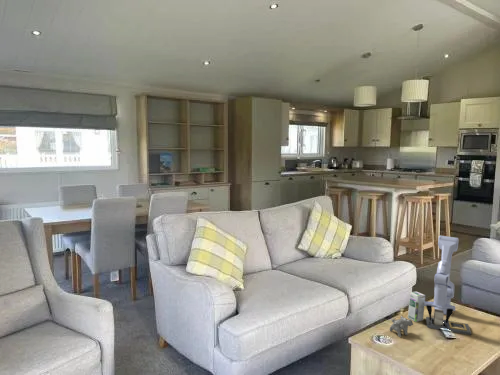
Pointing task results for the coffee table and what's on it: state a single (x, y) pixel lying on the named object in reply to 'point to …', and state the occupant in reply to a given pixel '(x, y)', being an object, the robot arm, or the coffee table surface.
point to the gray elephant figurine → (401, 325)
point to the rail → (448, 325)
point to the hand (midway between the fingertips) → (438, 321)
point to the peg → (438, 317)
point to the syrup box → (416, 306)
